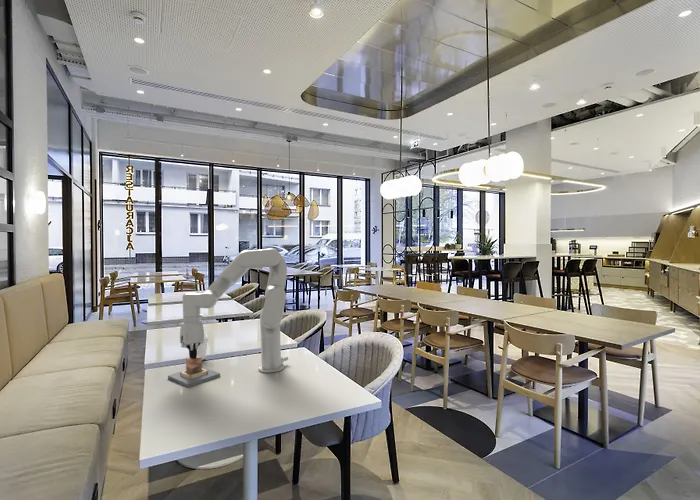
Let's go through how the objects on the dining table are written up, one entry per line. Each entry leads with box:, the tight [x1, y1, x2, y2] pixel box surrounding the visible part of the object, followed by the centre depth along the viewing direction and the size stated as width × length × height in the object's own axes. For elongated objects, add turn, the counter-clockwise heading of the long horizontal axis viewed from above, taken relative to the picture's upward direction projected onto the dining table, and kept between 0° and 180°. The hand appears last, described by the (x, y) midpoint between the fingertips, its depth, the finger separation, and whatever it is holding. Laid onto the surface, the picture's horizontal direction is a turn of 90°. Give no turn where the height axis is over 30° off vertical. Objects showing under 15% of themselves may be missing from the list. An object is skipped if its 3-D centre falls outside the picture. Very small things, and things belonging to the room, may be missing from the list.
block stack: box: [185, 356, 203, 375], centre depth 179 cm, size 5×5×8 cm
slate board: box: [167, 366, 221, 388], centre depth 179 cm, size 16×18×3 cm
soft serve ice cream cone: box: [196, 332, 209, 361], centre depth 206 cm, size 8×8×16 cm
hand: (193, 357), depth 179 cm, fingers closed
